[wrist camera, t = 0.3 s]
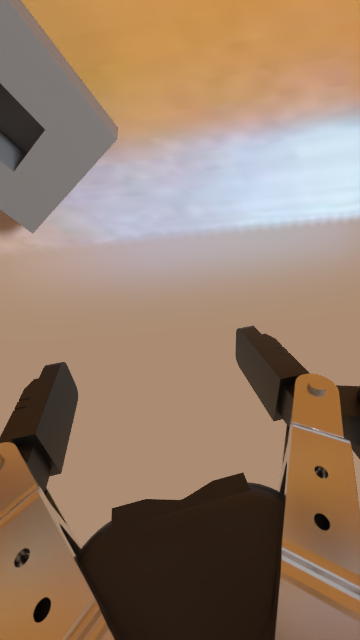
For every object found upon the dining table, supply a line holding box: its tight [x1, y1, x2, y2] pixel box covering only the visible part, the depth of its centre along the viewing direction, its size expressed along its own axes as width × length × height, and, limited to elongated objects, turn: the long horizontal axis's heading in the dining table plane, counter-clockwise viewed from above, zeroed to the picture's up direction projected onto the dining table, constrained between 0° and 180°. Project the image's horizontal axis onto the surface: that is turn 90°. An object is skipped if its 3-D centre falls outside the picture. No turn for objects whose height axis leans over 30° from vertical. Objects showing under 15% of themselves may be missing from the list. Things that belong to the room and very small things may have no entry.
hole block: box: [0, 0, 118, 233], centre depth 23 cm, size 14×14×7 cm
